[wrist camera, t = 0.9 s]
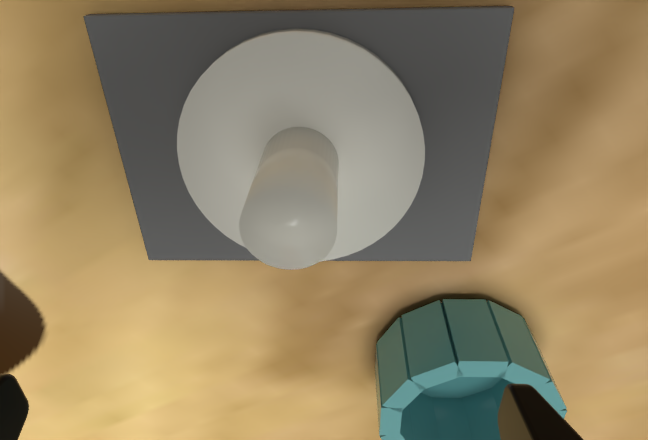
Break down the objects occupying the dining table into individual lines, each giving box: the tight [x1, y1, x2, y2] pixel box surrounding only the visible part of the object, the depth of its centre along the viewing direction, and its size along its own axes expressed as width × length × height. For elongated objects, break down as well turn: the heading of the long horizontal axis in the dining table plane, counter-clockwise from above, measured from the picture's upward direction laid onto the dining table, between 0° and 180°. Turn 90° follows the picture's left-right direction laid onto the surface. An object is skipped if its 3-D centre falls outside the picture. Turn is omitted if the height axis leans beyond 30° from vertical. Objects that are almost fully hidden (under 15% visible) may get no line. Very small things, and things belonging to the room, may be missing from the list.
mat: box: [83, 6, 514, 261], centre depth 18 cm, size 14×10×1 cm
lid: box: [177, 28, 425, 270], centre depth 16 cm, size 9×9×5 cm
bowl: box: [375, 299, 567, 440], centre depth 22 cm, size 8×8×4 cm
